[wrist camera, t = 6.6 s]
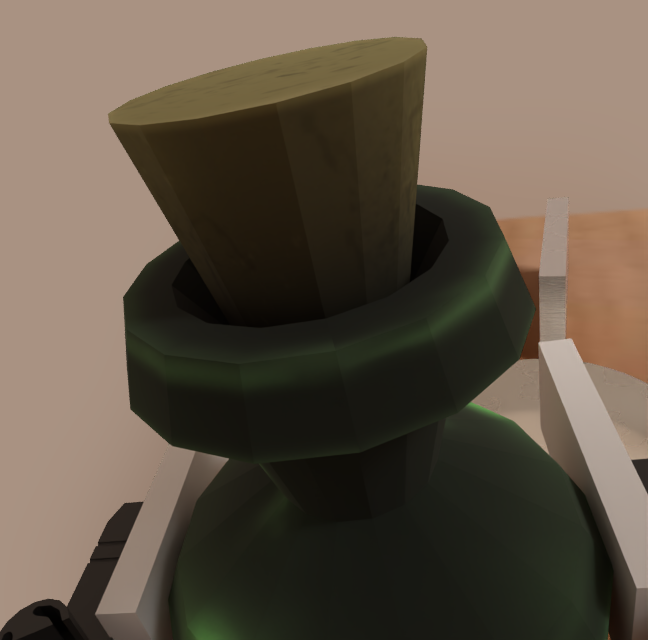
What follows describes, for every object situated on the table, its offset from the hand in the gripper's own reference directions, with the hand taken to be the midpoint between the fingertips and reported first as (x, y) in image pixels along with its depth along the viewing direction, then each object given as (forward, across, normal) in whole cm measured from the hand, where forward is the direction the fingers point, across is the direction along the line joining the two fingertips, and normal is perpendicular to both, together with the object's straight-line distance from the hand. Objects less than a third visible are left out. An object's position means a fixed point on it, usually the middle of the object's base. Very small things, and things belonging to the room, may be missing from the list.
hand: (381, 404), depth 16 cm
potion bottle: (-5, 0, -9) cm, 10 cm away
